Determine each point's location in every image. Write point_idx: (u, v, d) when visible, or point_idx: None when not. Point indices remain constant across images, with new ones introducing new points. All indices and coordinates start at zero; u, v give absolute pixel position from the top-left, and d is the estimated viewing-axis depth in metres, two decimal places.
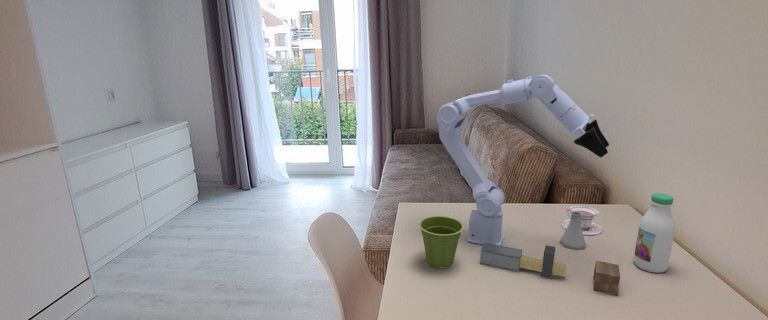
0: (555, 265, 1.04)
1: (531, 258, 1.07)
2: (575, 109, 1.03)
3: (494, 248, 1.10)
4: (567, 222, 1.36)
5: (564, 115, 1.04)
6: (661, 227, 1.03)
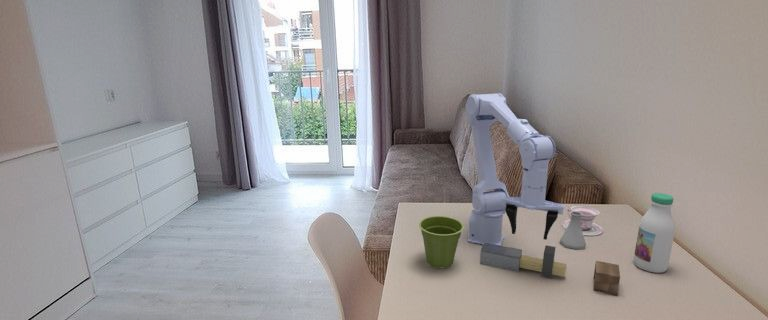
0: (555, 265, 1.04)
1: (531, 258, 1.07)
2: (525, 189, 1.01)
3: (494, 248, 1.10)
4: (568, 222, 1.36)
5: None
6: (661, 227, 1.03)
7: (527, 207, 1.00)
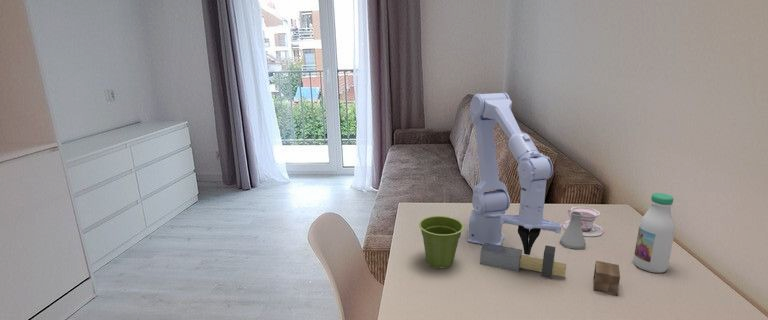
0: (555, 265, 1.04)
1: (531, 258, 1.07)
2: (523, 209, 1.02)
3: (494, 248, 1.10)
4: (568, 223, 1.36)
5: None
6: (661, 227, 1.03)
7: (525, 226, 1.01)
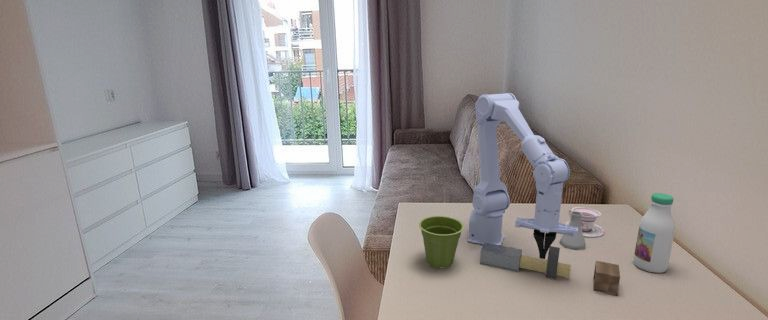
0: (559, 266, 1.03)
1: (535, 259, 1.07)
2: (539, 212, 1.00)
3: (494, 248, 1.10)
4: None
5: None
6: (661, 227, 1.03)
7: (541, 230, 1.00)
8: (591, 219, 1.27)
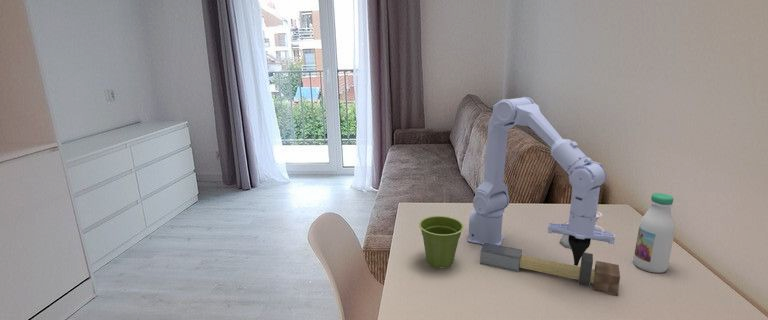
0: (593, 273, 1.00)
1: (567, 265, 1.03)
2: (574, 218, 0.97)
3: (494, 248, 1.10)
4: None
5: None
6: (661, 227, 1.03)
7: (576, 236, 0.96)
8: None
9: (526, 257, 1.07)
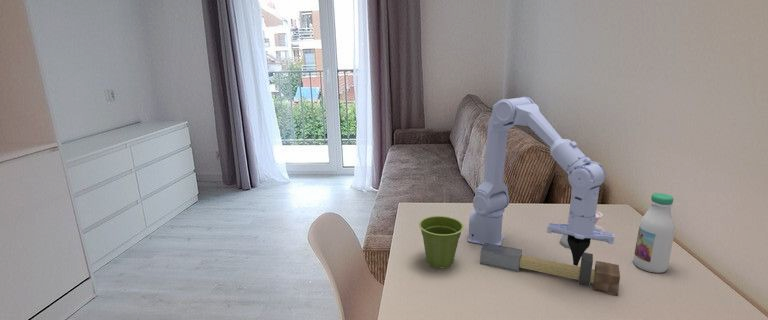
0: (593, 273, 1.00)
1: (567, 265, 1.03)
2: (573, 218, 0.97)
3: (494, 248, 1.10)
4: None
5: None
6: (661, 227, 1.03)
7: (576, 236, 0.96)
8: None
9: (526, 257, 1.07)
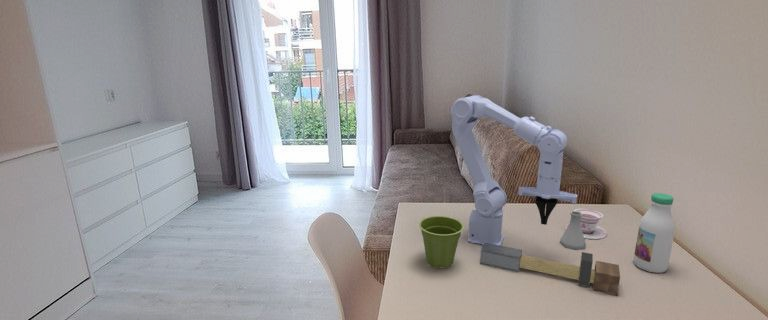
0: (593, 273, 1.00)
1: (567, 265, 1.03)
2: (541, 180, 1.08)
3: (494, 248, 1.10)
4: None
5: None
6: (661, 227, 1.03)
7: (542, 196, 1.07)
8: (593, 221, 1.26)
9: (526, 257, 1.08)
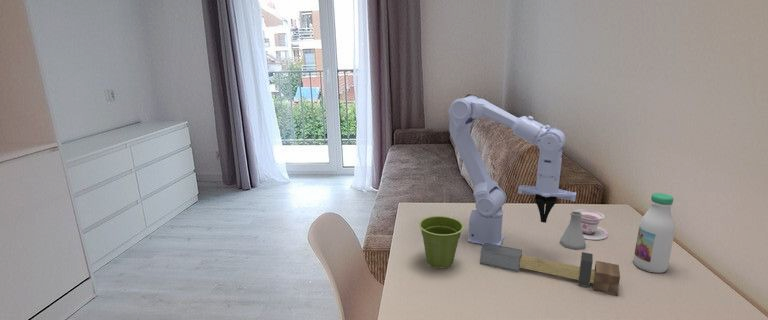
0: (593, 273, 1.00)
1: (567, 265, 1.03)
2: (540, 178, 1.09)
3: (494, 248, 1.10)
4: None
5: None
6: (661, 227, 1.03)
7: (542, 194, 1.08)
8: (594, 222, 1.25)
9: (526, 257, 1.08)
